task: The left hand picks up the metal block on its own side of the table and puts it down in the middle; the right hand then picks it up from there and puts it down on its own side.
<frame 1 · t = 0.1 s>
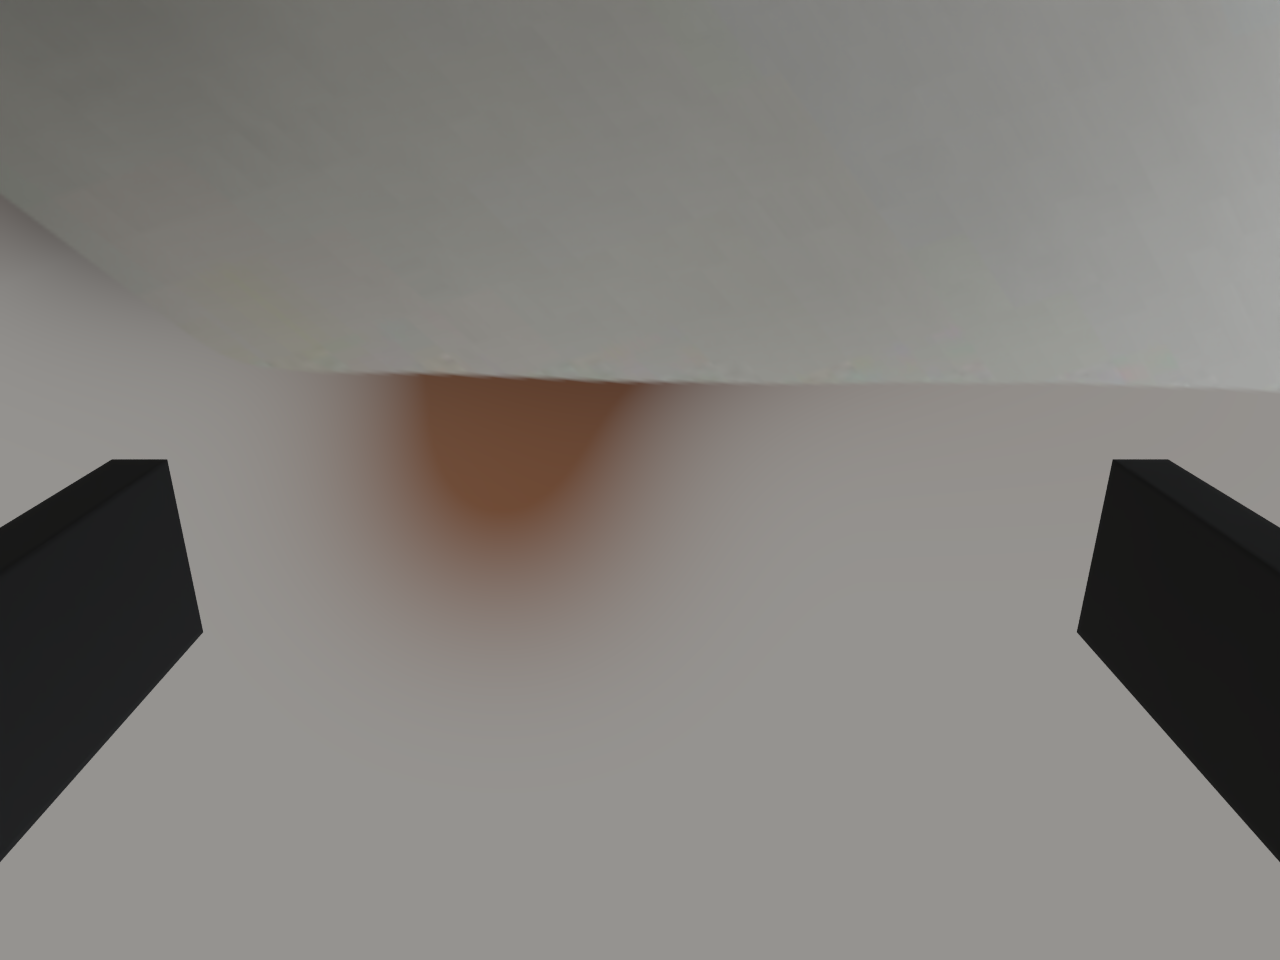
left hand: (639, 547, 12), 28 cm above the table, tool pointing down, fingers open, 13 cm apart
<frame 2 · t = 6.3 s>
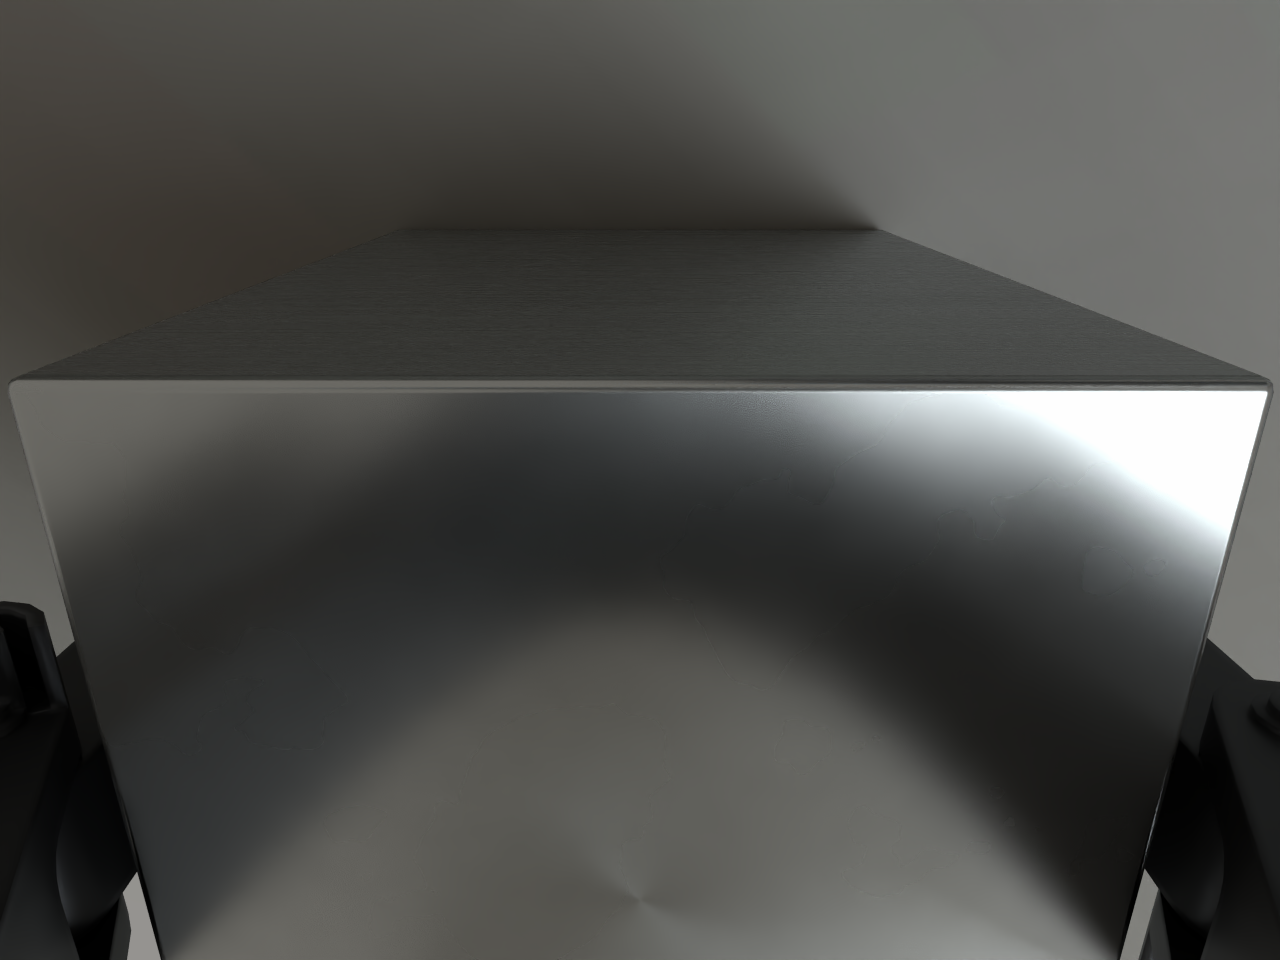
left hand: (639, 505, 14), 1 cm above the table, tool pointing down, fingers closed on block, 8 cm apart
block: (640, 474, 15), on the table, touching left hand
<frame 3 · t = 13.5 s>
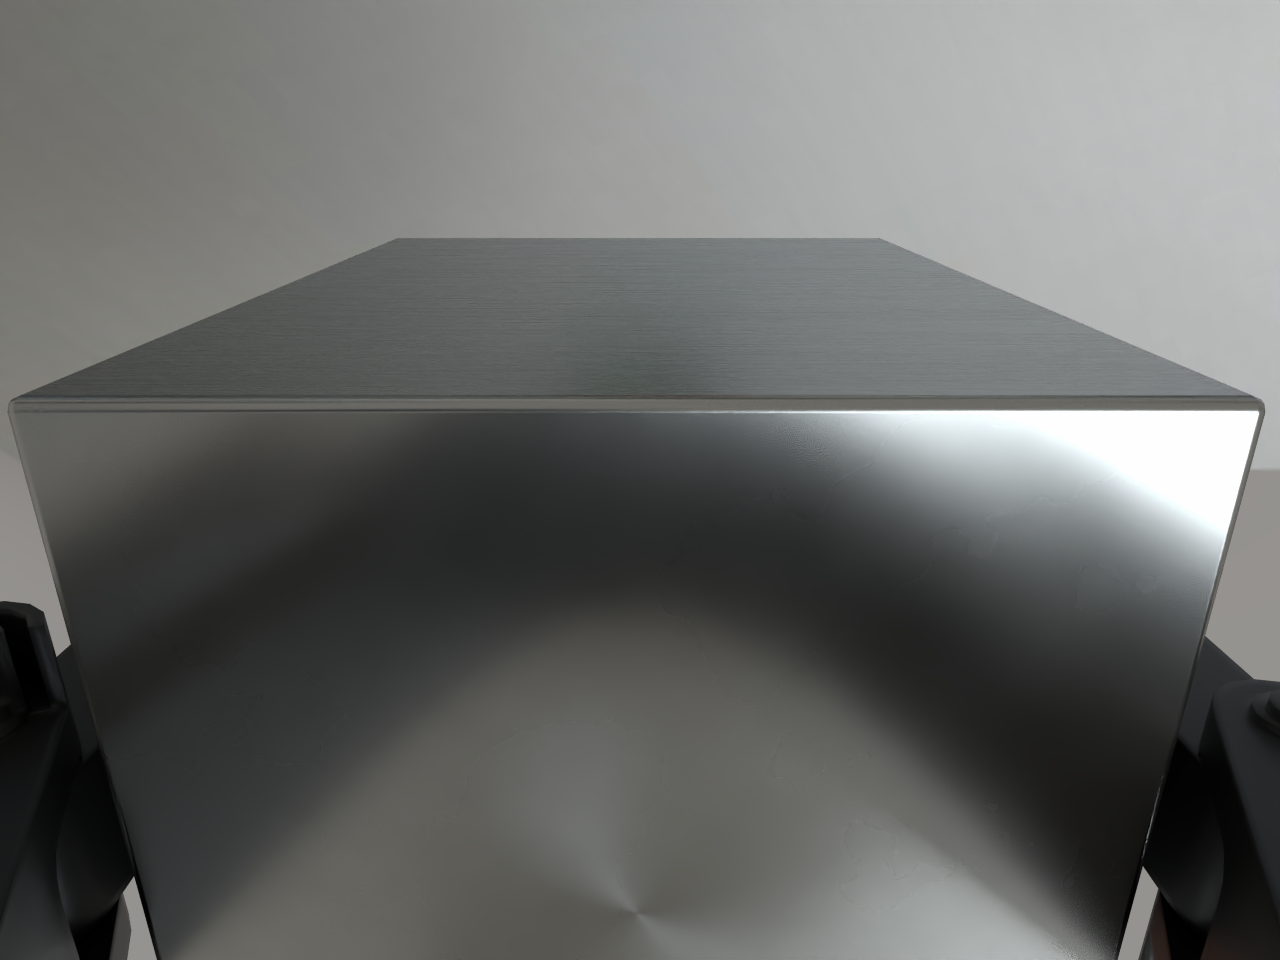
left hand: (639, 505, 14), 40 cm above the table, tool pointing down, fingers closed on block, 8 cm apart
block: (638, 481, 15), point 38 cm above the table, touching left hand
when the left hand's fingers open (3 cm above the table, at t = 20.9 s): block drops 2 cm, on the table.
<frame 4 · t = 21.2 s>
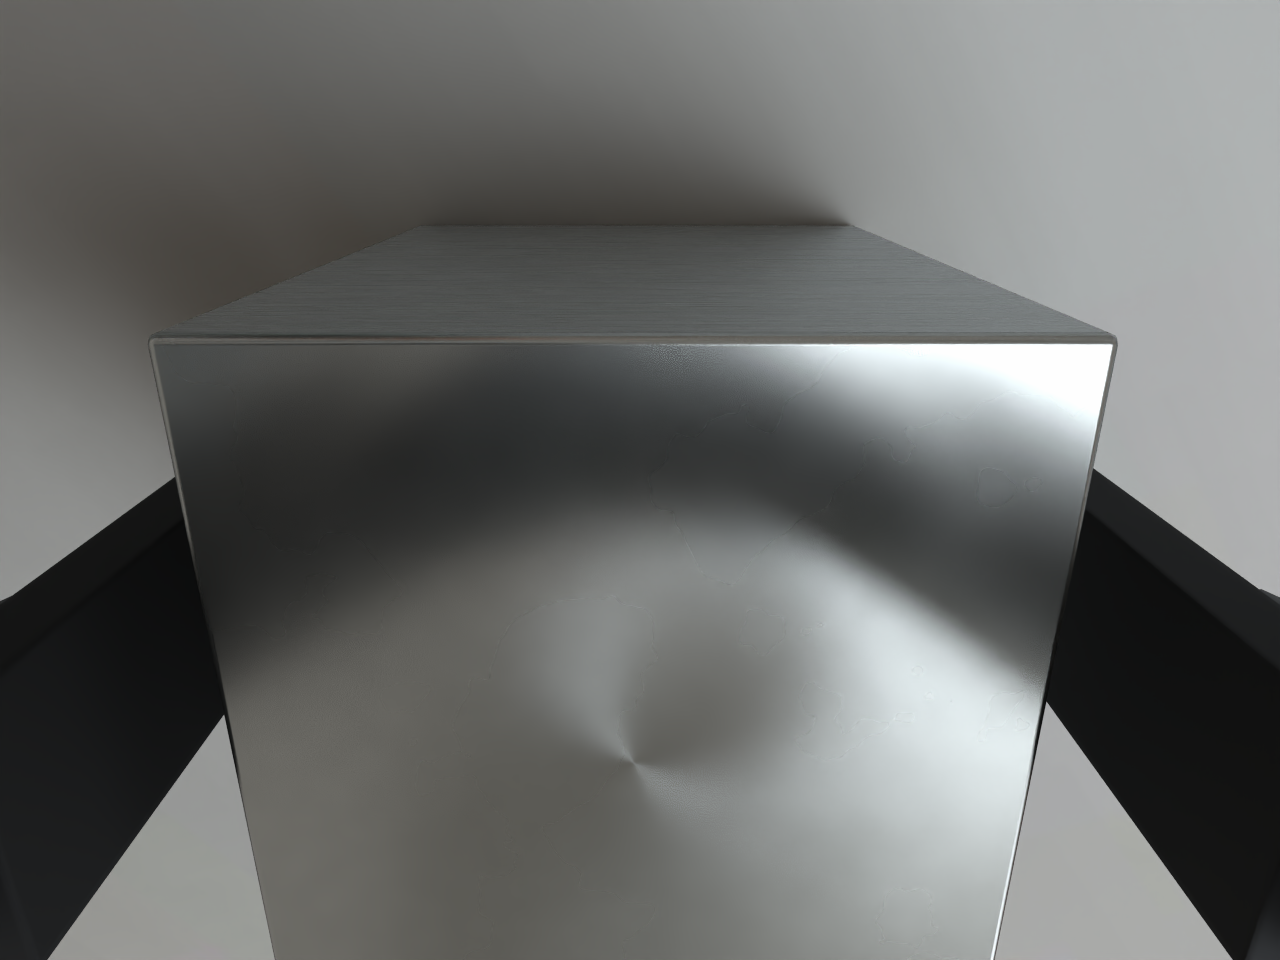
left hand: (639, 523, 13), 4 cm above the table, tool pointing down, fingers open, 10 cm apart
block: (637, 447, 17), on the table
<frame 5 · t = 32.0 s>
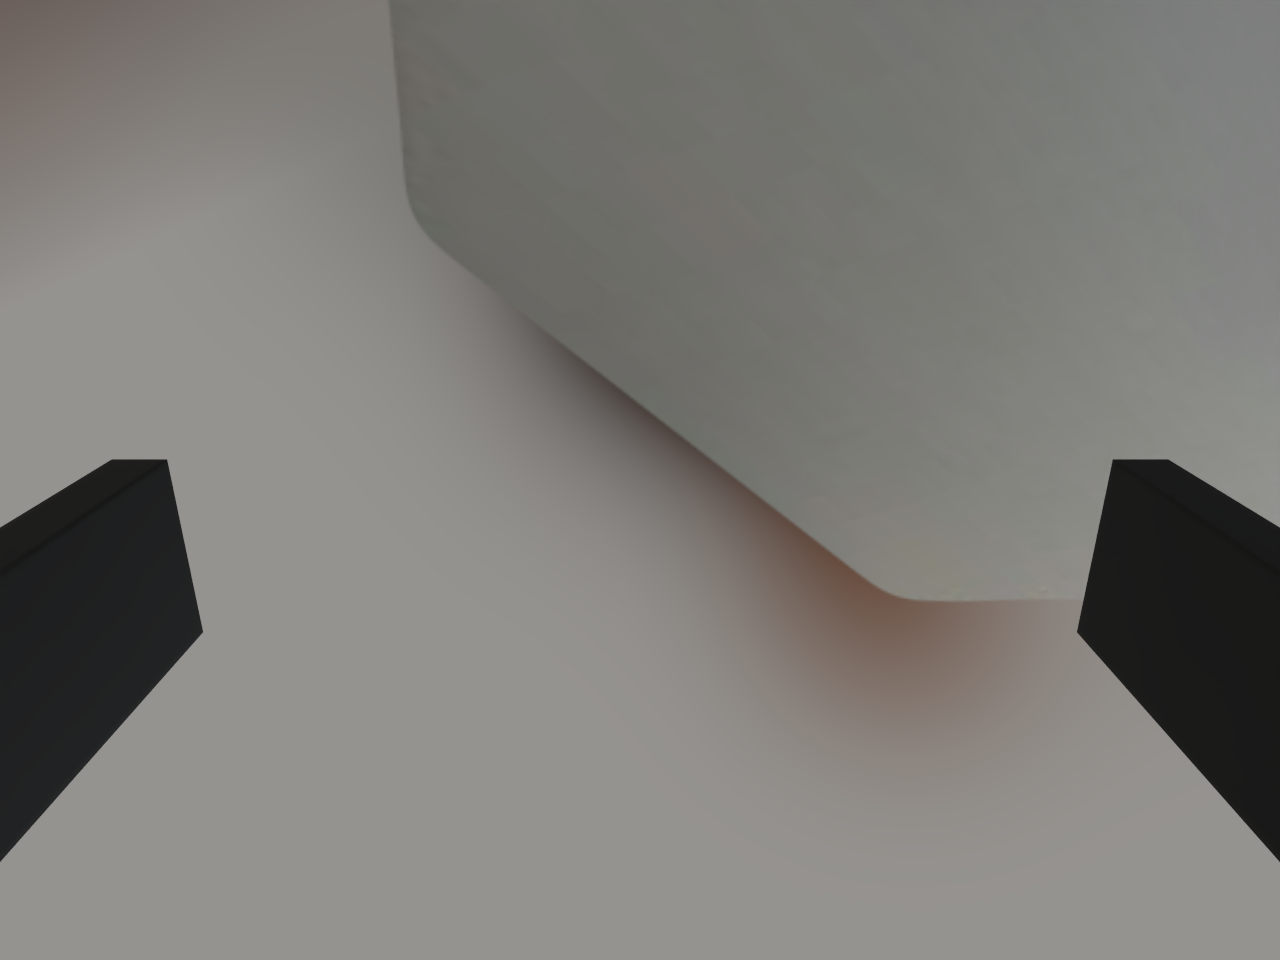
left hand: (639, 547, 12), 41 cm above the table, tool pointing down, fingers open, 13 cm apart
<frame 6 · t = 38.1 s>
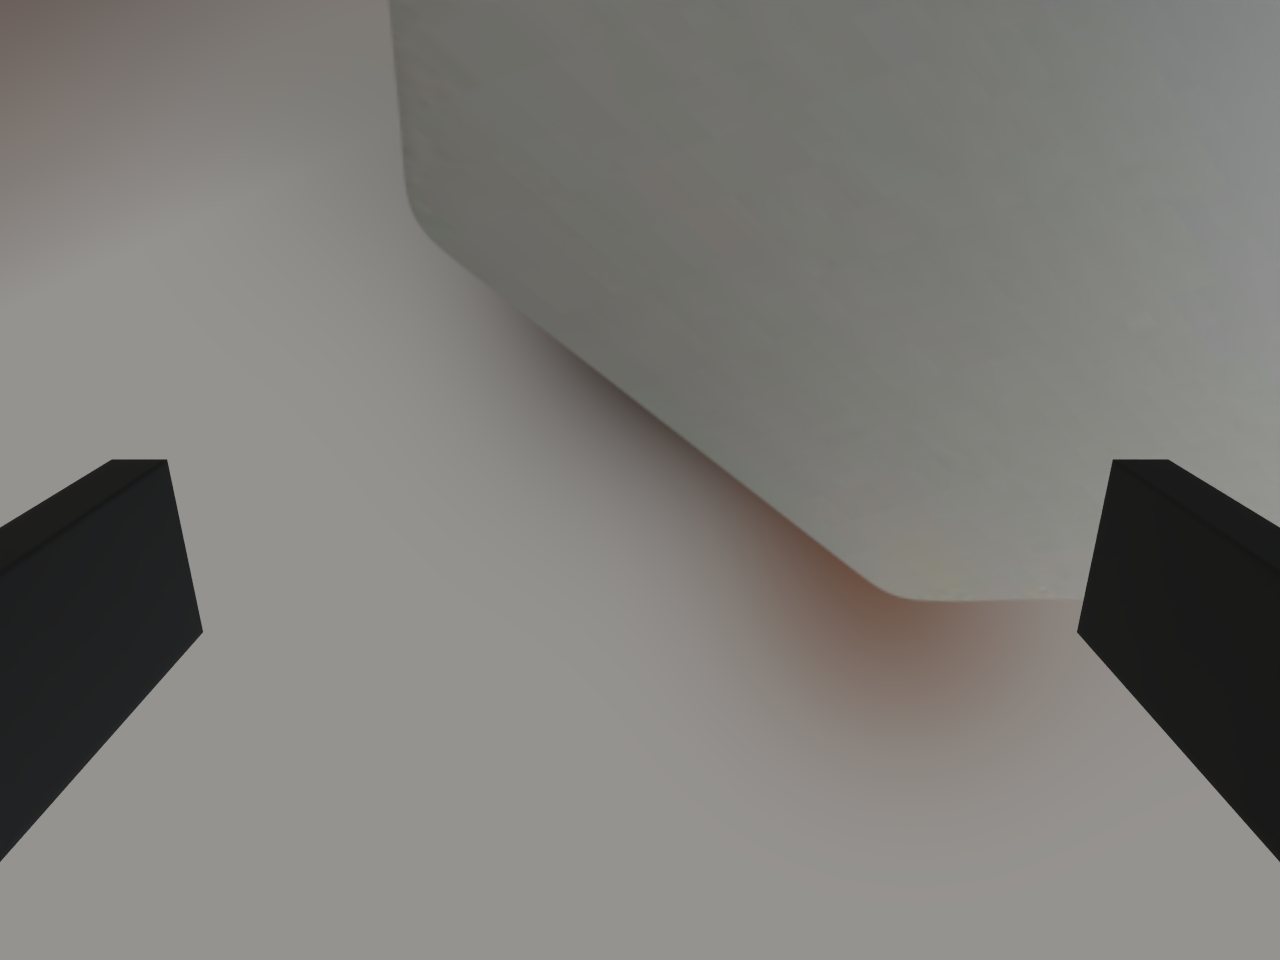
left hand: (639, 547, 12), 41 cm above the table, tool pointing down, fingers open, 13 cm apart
when the right hand's fingers open (3 cm above the table, at t = 44.4 s): block drops 2 cm, on the table.
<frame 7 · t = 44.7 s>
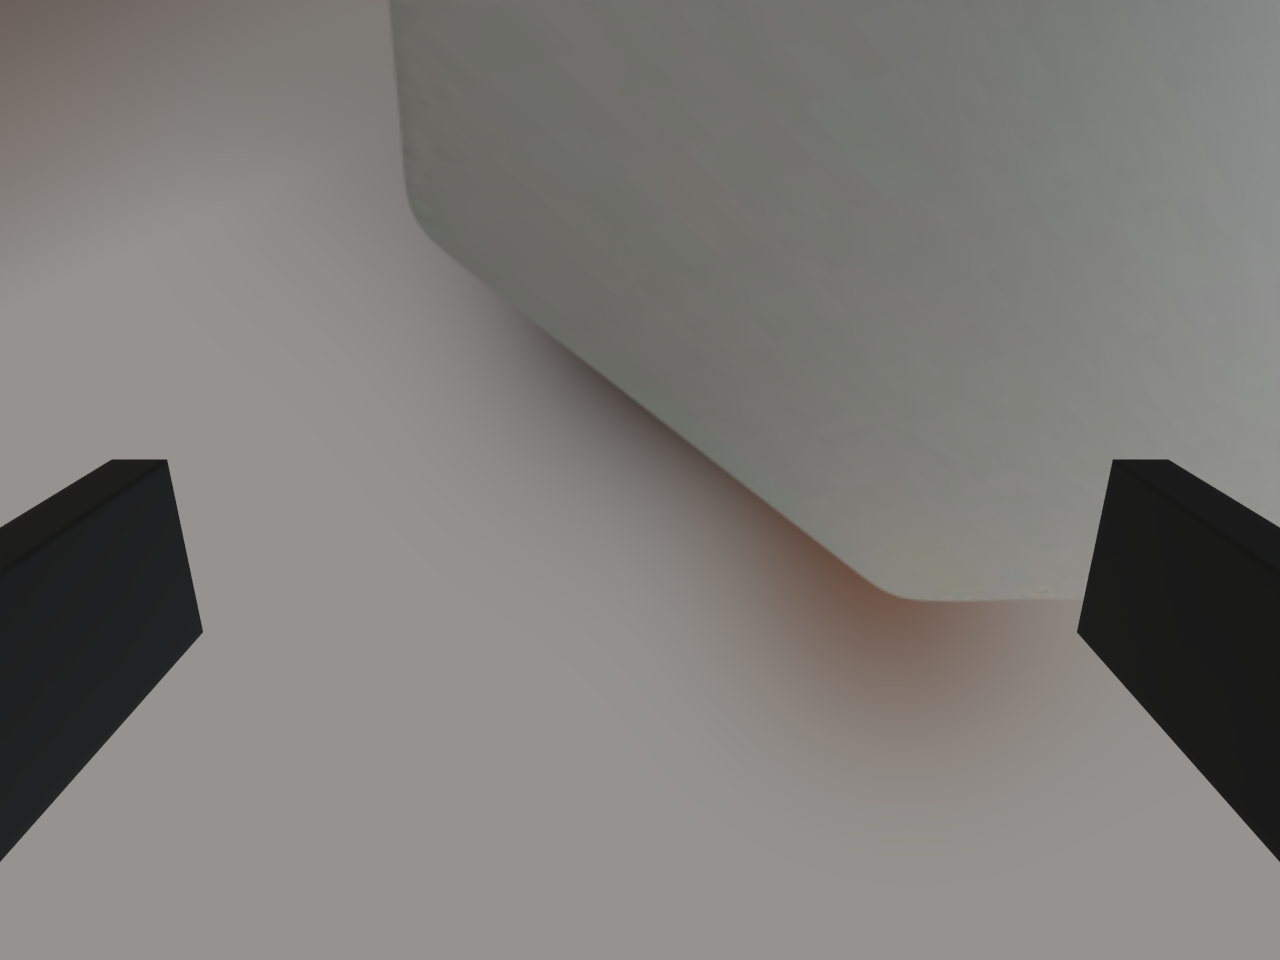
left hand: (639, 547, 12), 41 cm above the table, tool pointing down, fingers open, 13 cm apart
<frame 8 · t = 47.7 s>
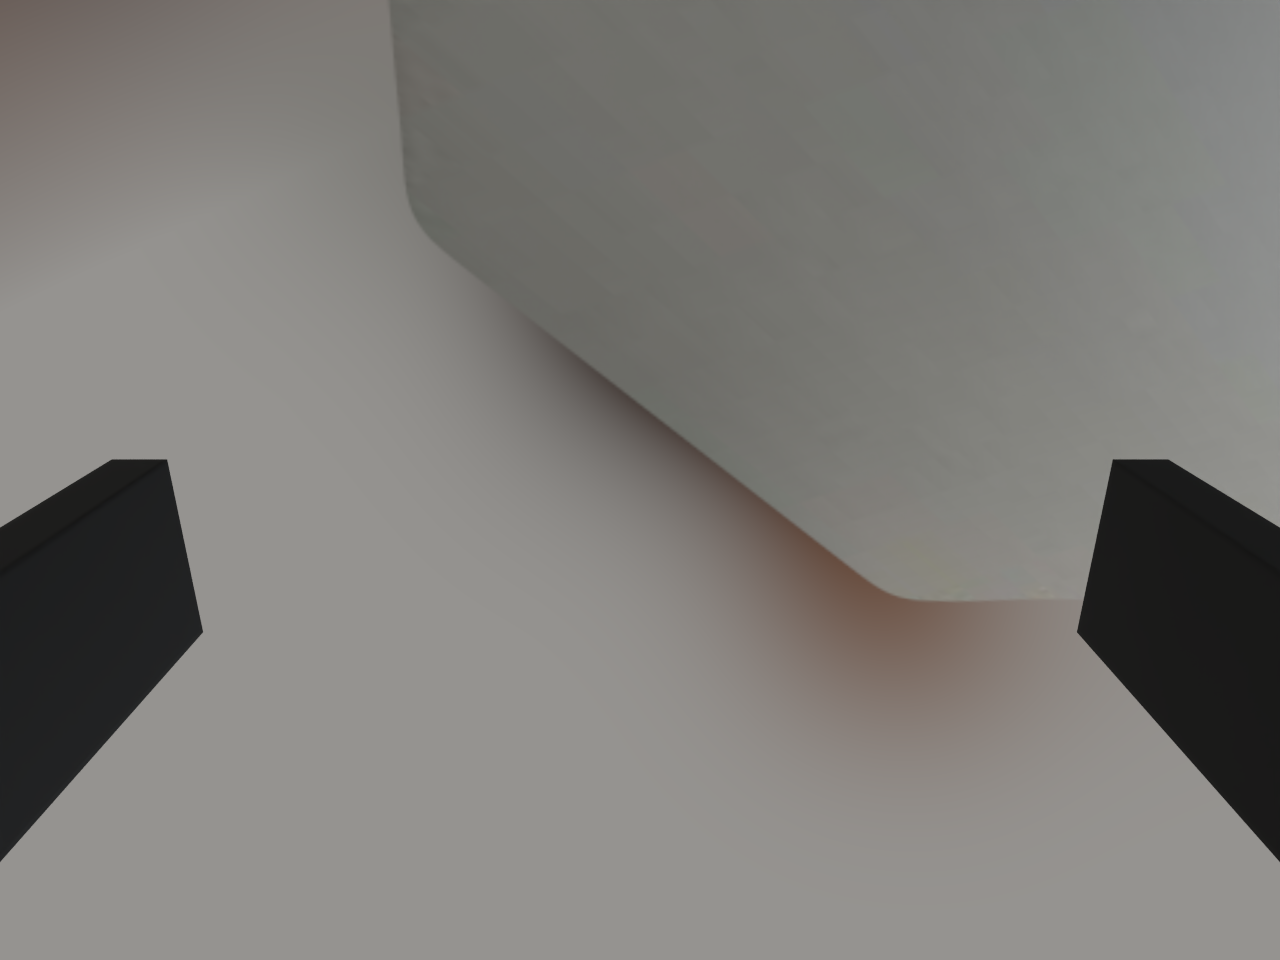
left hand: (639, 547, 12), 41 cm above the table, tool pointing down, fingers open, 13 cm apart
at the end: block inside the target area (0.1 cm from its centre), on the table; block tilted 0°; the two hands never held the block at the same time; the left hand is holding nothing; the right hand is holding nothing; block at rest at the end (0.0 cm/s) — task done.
